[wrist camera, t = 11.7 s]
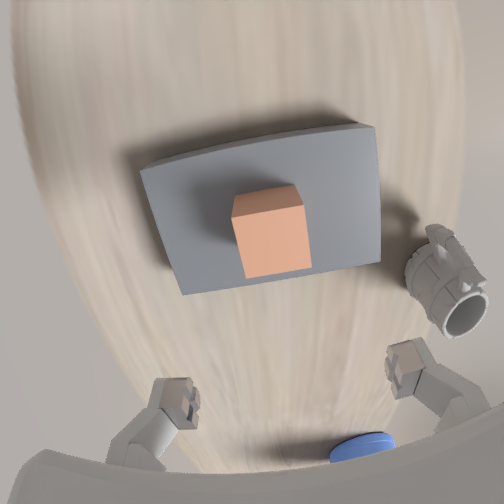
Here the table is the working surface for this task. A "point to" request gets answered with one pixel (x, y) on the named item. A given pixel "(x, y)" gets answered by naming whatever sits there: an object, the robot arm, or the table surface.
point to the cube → (271, 231)
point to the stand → (261, 178)
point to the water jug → (362, 447)
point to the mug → (447, 283)
